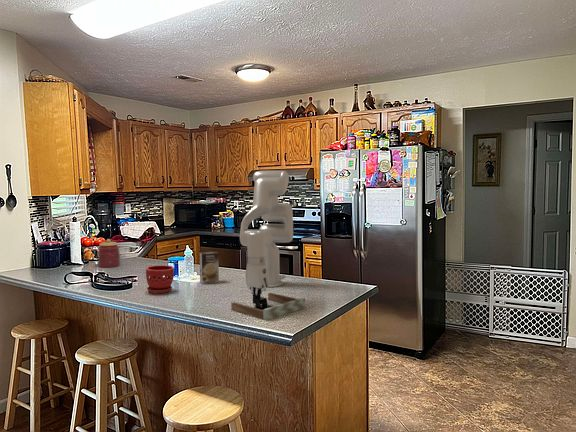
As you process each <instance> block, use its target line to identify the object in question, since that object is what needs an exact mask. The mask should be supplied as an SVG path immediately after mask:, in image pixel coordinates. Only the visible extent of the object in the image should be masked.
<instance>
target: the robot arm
mask: <svg viewBox="0 0 576 432" xmlns="http://www.w3.org/2000/svg"><path fill="white" fill-rule="evenodd" d="M252 178H253V181H254V187H253V188H254V189H253V199H252V208H251V209H250V210H249V211H248V212H247V213H246V214H245V215H244V217H243V218H242V221H241V223H240V231H239V242H240V244H241V246H243V247H247V252H246V254H247V263H246V267H245V268H246V269H245V285H246V287H247V288H248V289H250V291H251V294H252V304H253V305H255V301H256V299H257V298H260V297H262V296H261V295H262V293H264V292H267V288H275V287H280V286H282V285H283V284H284V283H283V281H282V280H284V279H286V275H285V274H280V272H281V271H280V268H281V267H280V249H279V247H278V246H277V245H276V243H285V244H286V243H291V242H292V241H293V239H294V215H293V213H294V212H293V207H292V205H291V204H290V203H287V202H279V201H278V197H279V196H283V195H285V194H286V191H287V189H288V186H289V182H290V176H289V174H288V172H287V171H286V170H257V171H255V172H254V173H253V176H252ZM260 217H261V218H262V220H263V221H264V222H271V223H265V224H262V225H261V226H260V227H259V229H254V228H253V229H252V228H251V229H249V226H250V224H251V223H252V222H253V221H255V220H256V219H258V218H260ZM273 222H274V223H273Z"/></svg>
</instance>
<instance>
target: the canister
mask: <svg viewBox="0 0 576 432" xmlns="http://www.w3.org/2000/svg"><path fill="white" fill-rule="evenodd" d="M98 246H99V247H97V249H98V252H97V256H98V262H97V263H98V267H99V268H105V269H107V268H108V269H109V268H115V267H119V266H120V264H121V262H120V253H121V252H120V246H119V243H118V242H116V241H112V240H111V239H110V238H107V239H106V241H103V242H101V243H99V245H98Z"/></svg>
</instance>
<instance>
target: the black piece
mask: <svg viewBox="0 0 576 432" xmlns="http://www.w3.org/2000/svg"><path fill="white" fill-rule="evenodd" d="M267 298H268V297H263V296H261V297H260V298H257V299H256V301H255V304H254V305H255V306H254V307H253V308H257V309H261V310H263V309H266V308H269V307H273V306H274V305H270V304H268V299H267Z"/></svg>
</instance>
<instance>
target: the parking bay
mask: <svg viewBox="0 0 576 432" xmlns="http://www.w3.org/2000/svg"><path fill="white" fill-rule="evenodd" d="M267 296H268V297H267V298H268V299H267V301H271V302H275V303H278V304H277V305H272V306H273V307H269V308H266V309H263V310H261V309H257V308H254V307H253V306H250V305H249V306H248V305H246V304H242V303H238V302H235V301H234V302H231V305H230V306H231V307H230V308H231V311H234V312H235V313H236V312H237V313H240V314H243V315H247V316H249V317H254V318H258V319H260V320H264V321H269V320H272V319H274V318H278V317H280V316H283V315H287V314H291V313H292V312H296V311H299V310H302V309H305V308H306V298H305V297H300V298H295V297H290V296H286V295H282V294H277V293H275V292H268V294H267Z"/></svg>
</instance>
